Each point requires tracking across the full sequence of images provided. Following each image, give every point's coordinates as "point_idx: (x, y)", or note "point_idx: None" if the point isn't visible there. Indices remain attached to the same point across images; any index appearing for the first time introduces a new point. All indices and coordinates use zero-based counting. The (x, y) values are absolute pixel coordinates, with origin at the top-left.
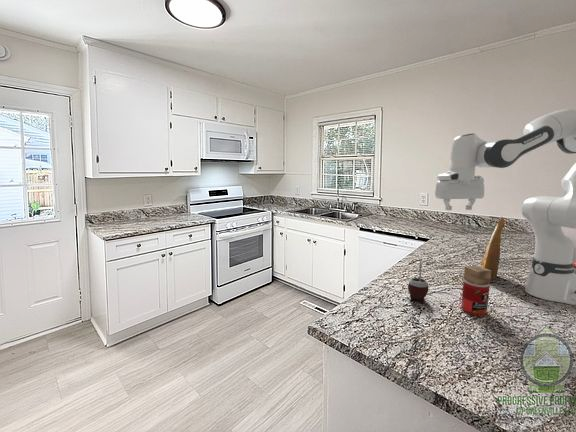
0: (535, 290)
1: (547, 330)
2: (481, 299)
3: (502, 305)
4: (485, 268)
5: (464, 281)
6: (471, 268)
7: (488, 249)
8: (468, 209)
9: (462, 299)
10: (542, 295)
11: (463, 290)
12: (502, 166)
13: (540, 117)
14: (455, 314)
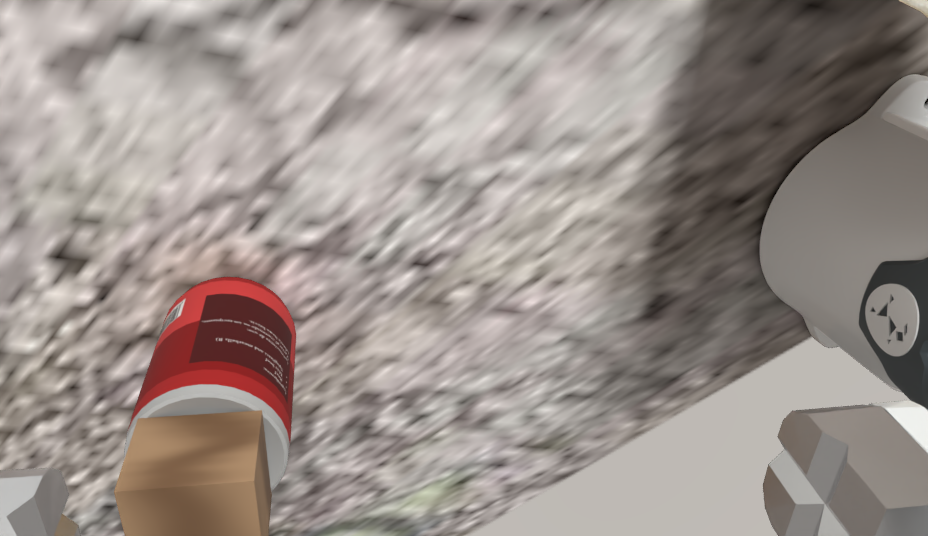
0: (789, 243)
1: (424, 500)
2: None
3: (460, 296)
4: (259, 534)
5: (128, 433)
6: (141, 529)
7: (917, 1)
8: (765, 505)
9: (155, 347)
10: (774, 272)
11: (141, 388)
12: None
13: None
14: (89, 353)
